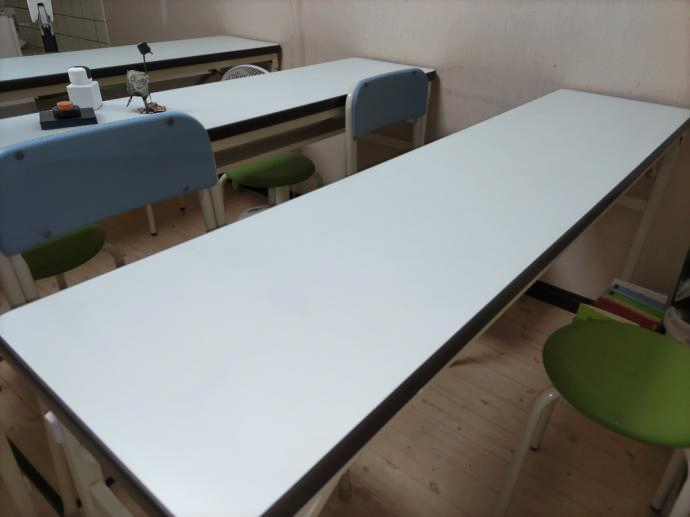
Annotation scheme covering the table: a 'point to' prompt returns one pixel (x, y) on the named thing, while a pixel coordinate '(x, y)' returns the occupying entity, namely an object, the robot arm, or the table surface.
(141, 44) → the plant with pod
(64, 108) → the release button
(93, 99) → the medicine bottle
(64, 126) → the button housing
